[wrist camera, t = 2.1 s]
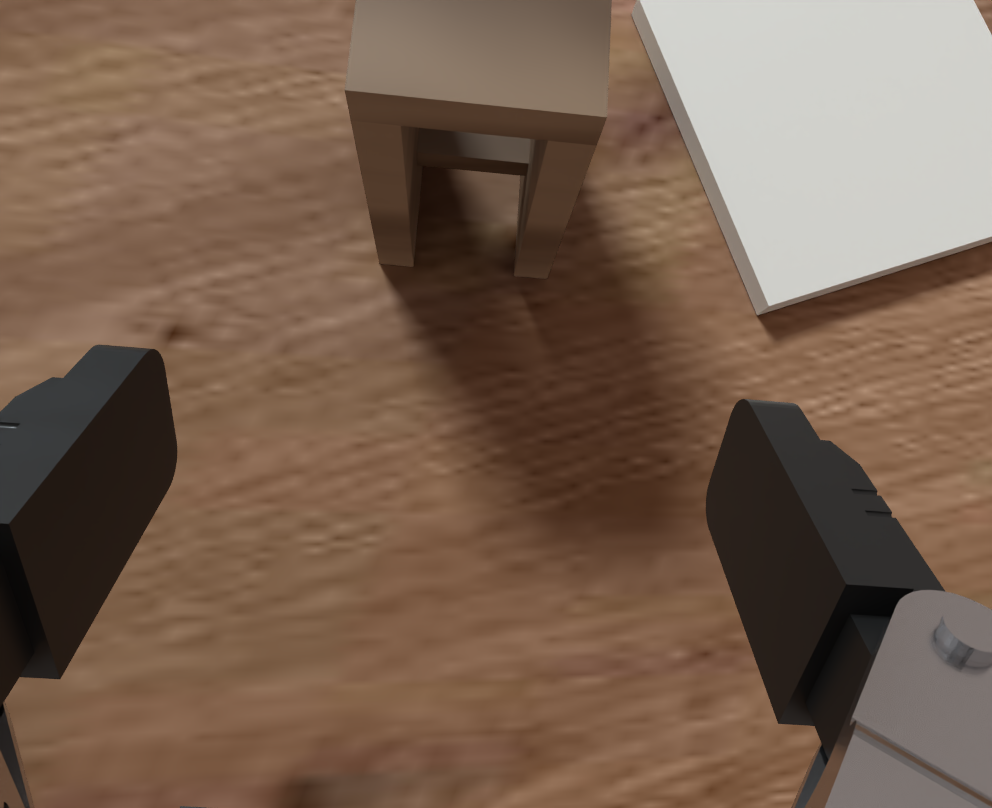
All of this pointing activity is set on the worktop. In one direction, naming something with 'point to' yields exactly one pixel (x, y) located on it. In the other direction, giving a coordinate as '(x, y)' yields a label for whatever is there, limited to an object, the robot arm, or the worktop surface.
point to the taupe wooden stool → (478, 108)
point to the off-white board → (831, 132)
